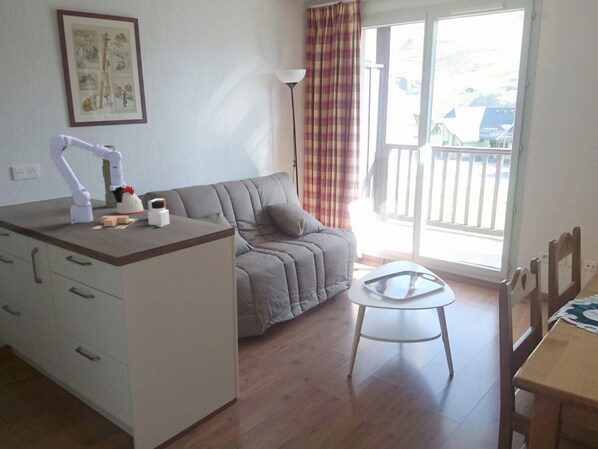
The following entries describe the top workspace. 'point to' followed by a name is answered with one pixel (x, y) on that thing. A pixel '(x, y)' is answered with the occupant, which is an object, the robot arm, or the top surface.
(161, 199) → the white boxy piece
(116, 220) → the t block
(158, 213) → the medicine bottle
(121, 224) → the board
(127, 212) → the kitchen timer
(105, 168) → the olive green tall block
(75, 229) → the top surface
